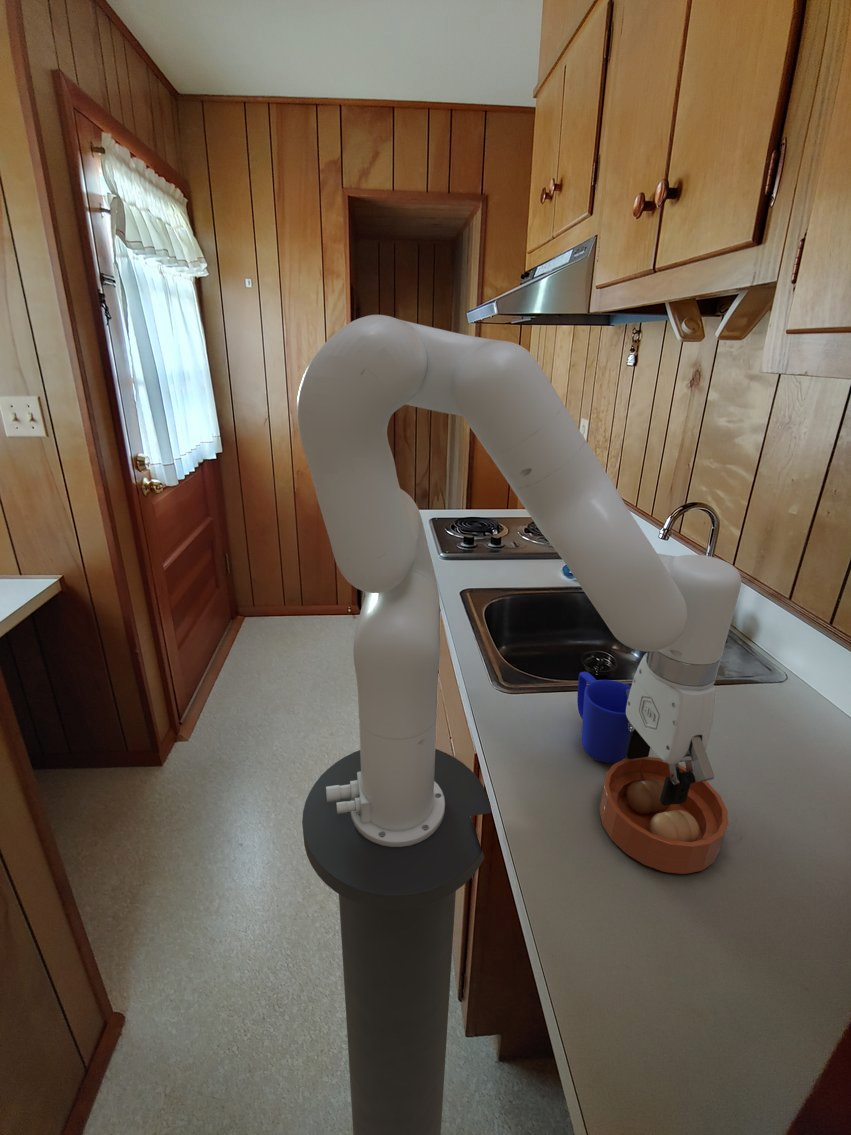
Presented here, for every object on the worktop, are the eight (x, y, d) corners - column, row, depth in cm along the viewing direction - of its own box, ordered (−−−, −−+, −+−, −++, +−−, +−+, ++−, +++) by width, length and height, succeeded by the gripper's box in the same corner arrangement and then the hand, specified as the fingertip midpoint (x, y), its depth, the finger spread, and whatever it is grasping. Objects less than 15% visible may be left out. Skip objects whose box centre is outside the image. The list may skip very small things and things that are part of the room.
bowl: (637, 886, 63) (644, 855, 61) (580, 792, 75) (585, 763, 74) (744, 865, 66) (755, 835, 64) (672, 778, 78) (679, 750, 76)
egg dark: (635, 823, 70) (639, 797, 69) (618, 801, 74) (622, 776, 72) (677, 816, 71) (681, 790, 70) (658, 794, 75) (662, 770, 74)
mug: (596, 713, 91) (605, 662, 87) (644, 763, 81) (656, 707, 77) (553, 722, 89) (560, 670, 85) (596, 775, 78) (606, 718, 74)
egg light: (657, 858, 66) (665, 836, 64) (639, 829, 69) (646, 807, 67) (701, 850, 67) (710, 828, 65) (681, 822, 70) (689, 800, 69)
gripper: (613, 626, 71) (594, 736, 78) (702, 711, 55) (668, 839, 62) (666, 622, 72) (642, 730, 79) (767, 703, 56) (726, 829, 63)
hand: (653, 777), depth 70 cm, fingers open, 7 cm apart
